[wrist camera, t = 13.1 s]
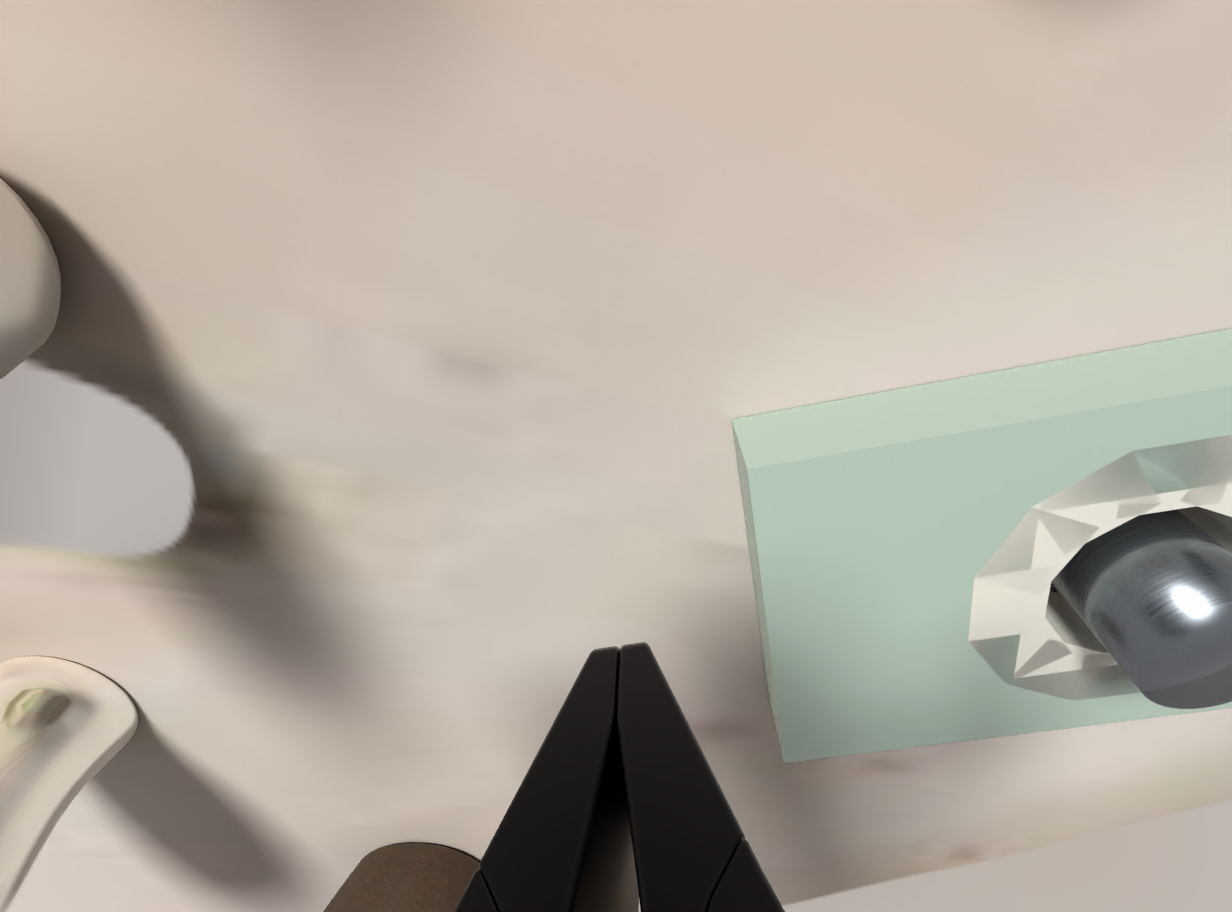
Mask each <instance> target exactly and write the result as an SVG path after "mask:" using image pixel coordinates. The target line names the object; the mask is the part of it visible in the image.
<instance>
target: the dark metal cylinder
mask: <svg viewBox="0 0 1232 912" xmlns="http://www.w3.org/2000/svg"><path fill="white" fill-rule="evenodd" d="M1051 583H1052V584H1053V586H1054V587H1055V588H1056V589H1057V591H1058V592H1059V593H1060V594H1061V595H1062V597H1063V598H1064V599H1065V600H1066V601H1067V603H1068V604H1069V605H1070V606H1071V607H1072V609H1073V610H1074V611H1075V612H1076V614H1077V615H1078V616H1079V617H1080V618H1081V620H1082V621H1083V622H1084V623H1085V624H1086V626H1087V627H1088V628H1089V629H1090V631H1091V632H1092V633H1093V634H1094V635H1095V637H1096V638H1097V639H1098V640H1099V641H1100V643H1101V644H1102V645H1103V646H1104V647H1105V649H1106V650H1107V651H1108V652H1109V654H1110V655H1111V656H1112V657H1113V658H1114V660H1115V661H1116V662H1117V663H1118V664H1119V666H1120V667H1121V668H1122V669H1123V671H1124V672H1125V673H1126V674H1127V675H1128V677H1129V678H1130V679H1131V680H1132V681H1133V683H1134V684H1135V685H1136V686H1137V687H1138V689H1139V690H1140V691H1141V692H1142V693H1143V695H1144V696H1145V697H1146V698H1148V699H1149V700H1150V701H1152V702H1154V703H1156V704H1158V705H1162V706H1165V707H1170V708H1177V709H1198V708H1206V707H1212V706H1217V705H1221V704H1225V703H1229V702H1232V553H1230V552H1229V551H1228V550H1227V549H1225V548H1224V547H1223V546H1222V545H1220V544H1219V543H1218V542H1217V541H1216V540H1214V539H1213V538H1212V537H1211V536H1209V535H1208V534H1207V533H1206V532H1204V531H1203V530H1202V529H1201V528H1199V527H1198V526H1197V525H1196V524H1194V523H1193V522H1192V521H1191V520H1190V519H1188V518H1187V517H1186V516H1185V515H1183V514H1182V513H1181V512H1180V511H1178V510H1177V509H1176V510H1169V511H1163V512H1157V513H1150V514H1144V515H1138V516H1137V517H1135V518H1133V519H1131V520H1129V521H1127V522H1125V523H1123V524H1121V525H1119V526H1118V527H1116V528H1114V529H1112V530H1110V531H1108V532H1106V533H1104V534H1102V535H1100V536H1099V537H1097V538H1095V539H1093V540H1091V541H1089V542H1087V543H1085V544H1084V545H1083V546H1082V548H1081V549H1080V550H1079V551H1078V552H1077V553H1076V554H1075V555H1074V557H1073V558H1072V559H1071V560H1070V561H1069V562H1068V563H1067V564H1066V565H1065V567H1064V568H1063V569H1062V570H1061V571H1060V572H1059V573H1058V574H1057V576H1056V577H1055V578H1054V579H1053V580H1052V581H1051Z"/></svg>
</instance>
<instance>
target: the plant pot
mask: <svg viewBox="0 0 1232 912" xmlns="http://www.w3.org/2000/svg"><path fill="white" fill-rule="evenodd" d="M479 864H480V863H479V862H477V861H476V860H474V859H473V858H472V857H470V856H468V855H466V854H464V853H462V852H459V851H456V850H453V849H451V848H447V847H443V846H439V845H431V844H424V843H403V844H394V845H389V846H385V847H382V848H379V849H377V850H375V851H373V852H371V853H369V854H368V855H366V856H365V857H364V858H363V859H362V860H361V861H360V863H359V864H358V866H357V867H356V868H355V869H354V871H353V872H352V873H351V874H350V876H349V877H348V878H347V880H346V881H345V883H344V884H343V885H342V887H341V888H340V889H339V891H338V892H337V894H336V895H335V896H334V898H333V899H332V900H331V902H330V903H329V904H328V906H327V907H326V909H325V910H324V912H454V910H455V908H456V906H457V904H458V903H459V901H460V899H461V897H462V895H463V893H464V891H465V890H466V888H467V886H468V884H469V882H470V880H471V878H472V876H473V874H474V872H475V871H476V870H480V868H479ZM480 871H481V870H480Z"/></svg>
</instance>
